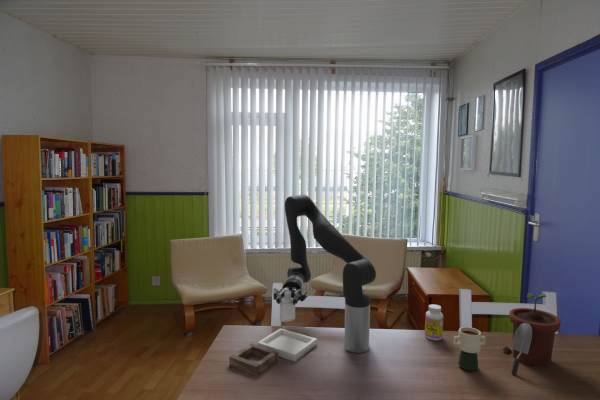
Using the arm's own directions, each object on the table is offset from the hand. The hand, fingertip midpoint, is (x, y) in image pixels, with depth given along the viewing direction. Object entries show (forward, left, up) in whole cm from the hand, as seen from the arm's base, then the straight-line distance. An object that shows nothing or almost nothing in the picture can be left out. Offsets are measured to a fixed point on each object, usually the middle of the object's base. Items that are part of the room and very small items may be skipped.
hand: (286, 301), depth 146 cm
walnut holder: (+14, -4, -19) cm, 23 cm away
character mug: (-24, +59, -19) cm, 66 cm away
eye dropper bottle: (-3, -1, -8) cm, 9 cm away
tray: (-2, -1, -19) cm, 19 cm away
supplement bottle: (-41, +43, -19) cm, 62 cm away
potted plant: (-41, +75, -19) cm, 87 cm away
